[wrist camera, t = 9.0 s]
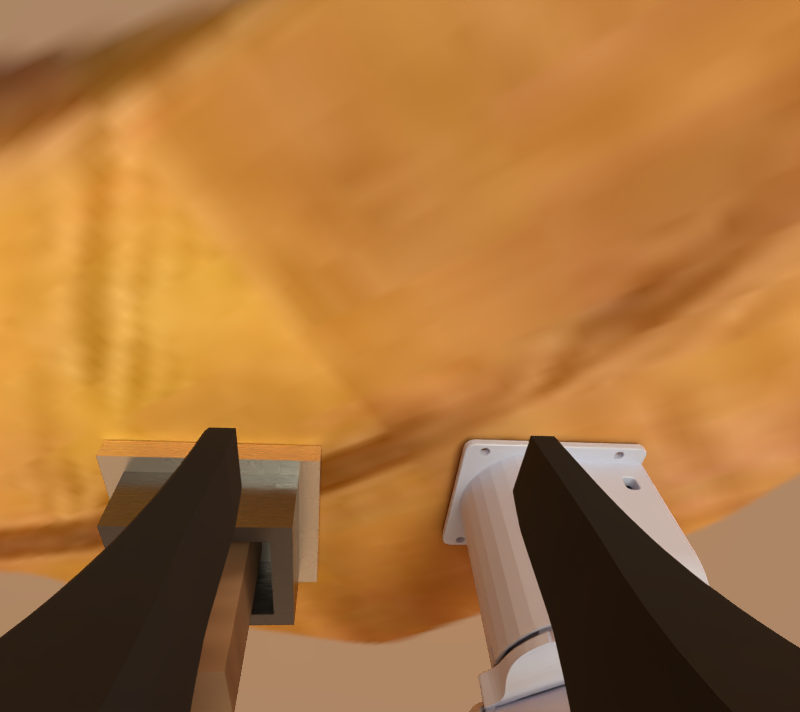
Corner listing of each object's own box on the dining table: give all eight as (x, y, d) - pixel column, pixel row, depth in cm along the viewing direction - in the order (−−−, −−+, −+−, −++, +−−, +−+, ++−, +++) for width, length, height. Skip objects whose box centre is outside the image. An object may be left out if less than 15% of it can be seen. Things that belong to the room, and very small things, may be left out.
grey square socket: (321, 446, 25) (315, 513, 22) (317, 566, 31) (313, 634, 28) (104, 440, 24) (65, 510, 21) (142, 566, 30) (115, 637, 26)
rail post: (258, 498, 26) (224, 671, 19) (262, 548, 28) (233, 717, 21) (174, 497, 25) (110, 674, 19) (185, 548, 27) (131, 721, 21)
